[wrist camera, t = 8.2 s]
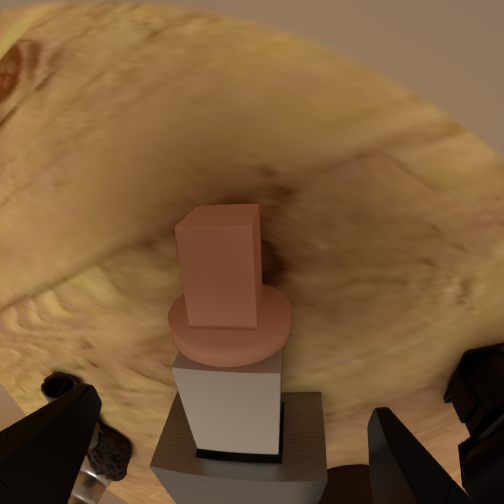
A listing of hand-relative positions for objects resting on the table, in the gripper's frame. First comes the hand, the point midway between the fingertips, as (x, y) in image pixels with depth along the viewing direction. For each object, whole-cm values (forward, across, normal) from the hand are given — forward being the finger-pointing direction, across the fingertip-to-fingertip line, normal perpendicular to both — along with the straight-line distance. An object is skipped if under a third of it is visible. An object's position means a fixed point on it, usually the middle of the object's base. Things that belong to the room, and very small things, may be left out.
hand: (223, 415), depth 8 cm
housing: (+12, +1, +17) cm, 21 cm away
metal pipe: (+12, +20, +22) cm, 32 cm away
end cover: (+11, +1, +3) cm, 11 cm away
